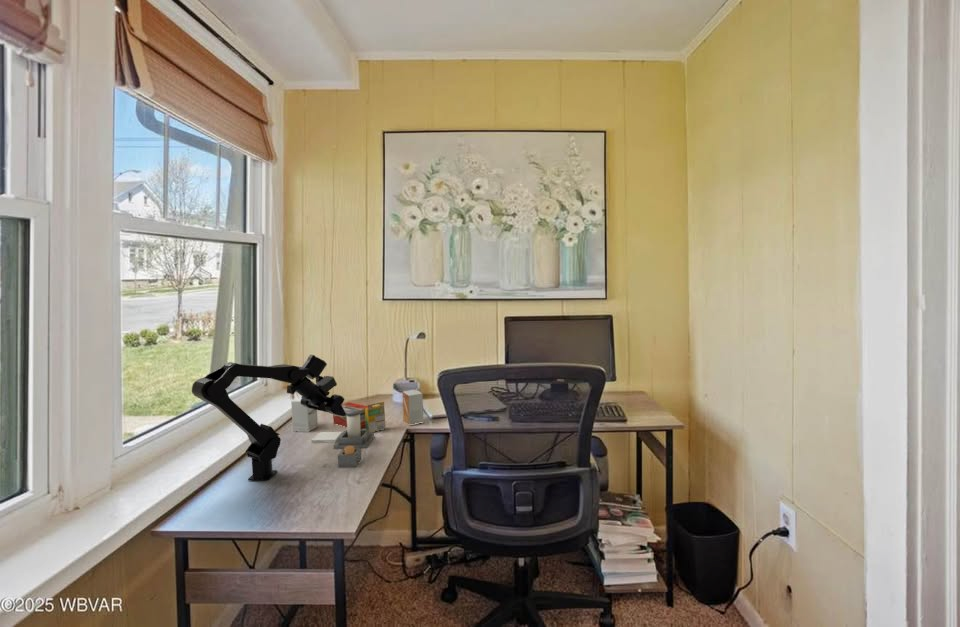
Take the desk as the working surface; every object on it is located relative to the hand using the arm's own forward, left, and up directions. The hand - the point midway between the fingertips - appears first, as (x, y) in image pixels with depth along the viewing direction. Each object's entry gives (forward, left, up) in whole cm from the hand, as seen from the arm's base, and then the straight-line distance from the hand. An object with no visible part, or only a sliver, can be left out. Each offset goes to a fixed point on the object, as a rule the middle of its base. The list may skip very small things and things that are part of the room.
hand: (336, 413), depth 170 cm
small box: (+29, -23, -13) cm, 39 cm away
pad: (+11, +8, -13) cm, 19 cm away
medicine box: (+27, +3, -13) cm, 31 cm away
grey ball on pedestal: (+6, -4, -13) cm, 15 cm away
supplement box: (+23, +21, -13) cm, 34 cm away
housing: (+6, -4, -13) cm, 15 cm away
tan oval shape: (-14, -8, -12) cm, 21 cm away
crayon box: (+19, -9, -13) cm, 25 cm away
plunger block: (-14, -8, -13) cm, 21 cm away
